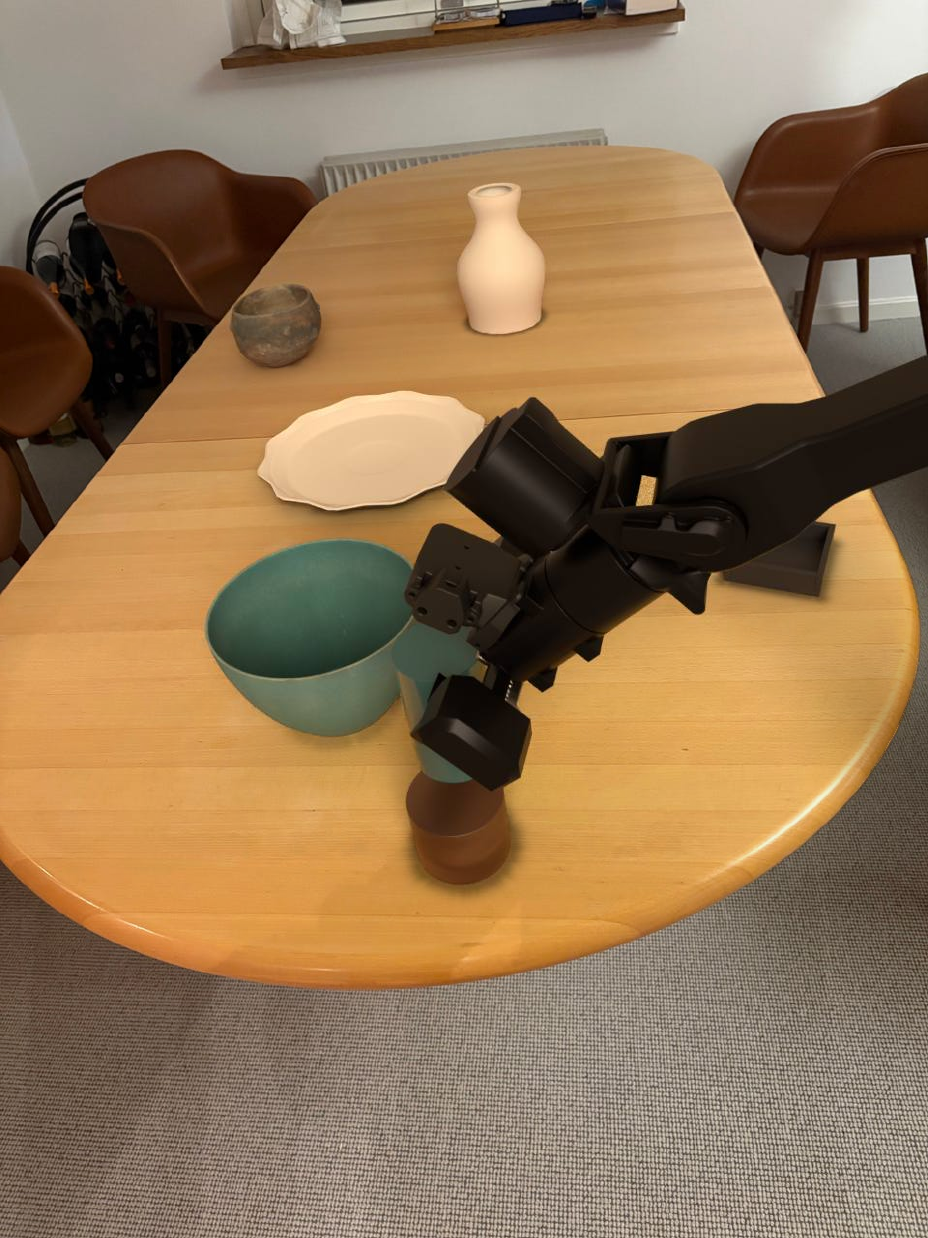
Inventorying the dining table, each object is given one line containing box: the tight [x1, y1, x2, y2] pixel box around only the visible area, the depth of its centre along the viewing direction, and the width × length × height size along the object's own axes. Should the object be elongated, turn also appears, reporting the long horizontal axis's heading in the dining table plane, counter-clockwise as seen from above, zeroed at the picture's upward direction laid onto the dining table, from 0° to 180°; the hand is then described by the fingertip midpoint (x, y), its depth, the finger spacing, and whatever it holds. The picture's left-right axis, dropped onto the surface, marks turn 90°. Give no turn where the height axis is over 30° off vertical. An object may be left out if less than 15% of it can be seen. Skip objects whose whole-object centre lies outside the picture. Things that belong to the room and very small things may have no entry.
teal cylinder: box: [392, 623, 487, 783], centre depth 60 cm, size 6×6×10 cm
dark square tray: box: [723, 520, 837, 598], centre depth 88 cm, size 9×9×2 cm
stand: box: [405, 770, 512, 886], centre depth 66 cm, size 7×7×6 cm
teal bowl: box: [204, 537, 420, 738], centre depth 77 cm, size 18×18×12 cm
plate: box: [256, 390, 486, 513], centre depth 114 cm, size 29×29×2 cm
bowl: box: [229, 283, 322, 368], centre depth 140 cm, size 14×15×10 cm
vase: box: [456, 182, 547, 335], centre depth 139 cm, size 14×14×20 cm
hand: (429, 704), depth 61 cm, fingers closed on teal cylinder, 6 cm apart
